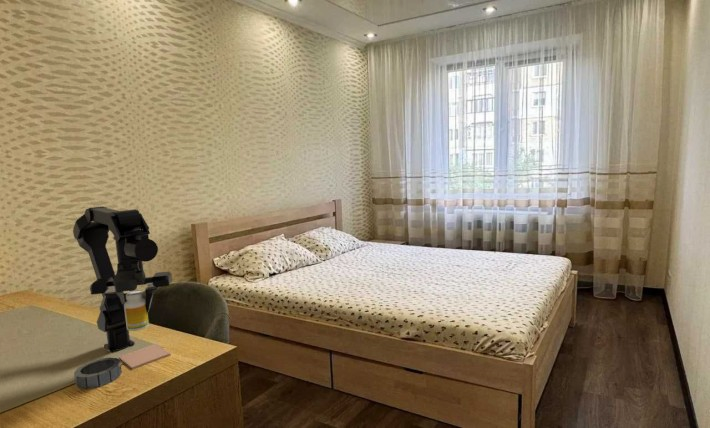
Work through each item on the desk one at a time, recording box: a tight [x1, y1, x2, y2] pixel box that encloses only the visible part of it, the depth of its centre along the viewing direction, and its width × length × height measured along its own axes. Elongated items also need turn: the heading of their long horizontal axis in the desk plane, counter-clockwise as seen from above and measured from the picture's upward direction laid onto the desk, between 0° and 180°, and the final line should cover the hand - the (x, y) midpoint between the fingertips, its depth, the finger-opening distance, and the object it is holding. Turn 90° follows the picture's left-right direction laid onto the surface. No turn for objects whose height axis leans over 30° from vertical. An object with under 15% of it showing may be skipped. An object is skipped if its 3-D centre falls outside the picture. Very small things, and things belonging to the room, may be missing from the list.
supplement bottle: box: [124, 290, 150, 332], centre depth 111 cm, size 5×5×10 cm
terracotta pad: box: [118, 343, 172, 370], centre depth 113 cm, size 10×10×1 cm
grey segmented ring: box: [73, 357, 123, 390], centre depth 102 cm, size 10×10×3 cm
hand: (136, 313), depth 111 cm, fingers closed on supplement bottle, 5 cm apart
